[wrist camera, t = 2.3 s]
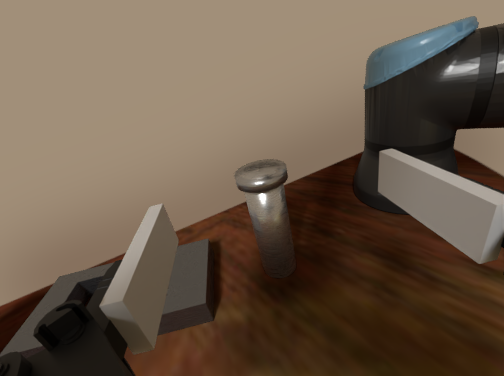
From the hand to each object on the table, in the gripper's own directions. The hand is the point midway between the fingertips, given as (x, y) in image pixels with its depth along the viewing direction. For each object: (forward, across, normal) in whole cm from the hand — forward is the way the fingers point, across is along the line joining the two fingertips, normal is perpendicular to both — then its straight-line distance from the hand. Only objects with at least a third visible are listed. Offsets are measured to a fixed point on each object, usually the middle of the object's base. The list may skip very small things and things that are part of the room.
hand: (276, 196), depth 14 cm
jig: (+11, -20, -17) cm, 28 cm away
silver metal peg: (+11, 0, -17) cm, 20 cm away
